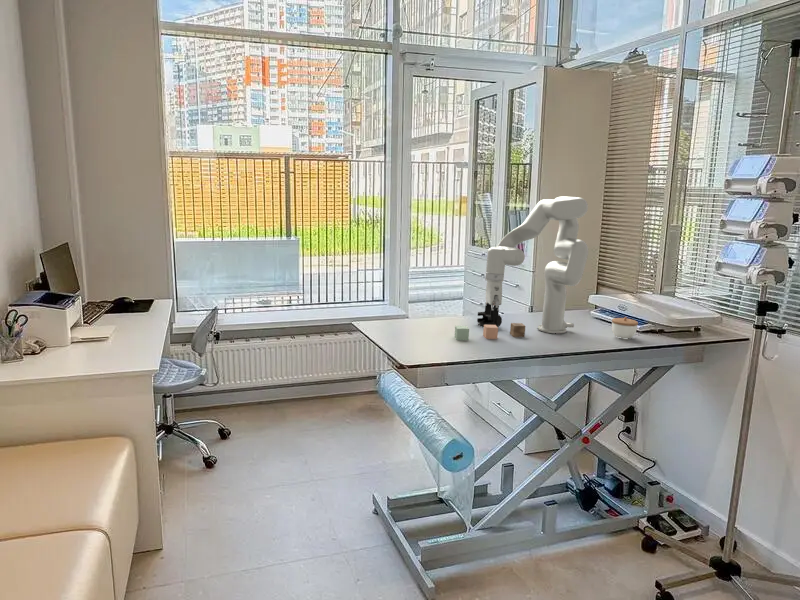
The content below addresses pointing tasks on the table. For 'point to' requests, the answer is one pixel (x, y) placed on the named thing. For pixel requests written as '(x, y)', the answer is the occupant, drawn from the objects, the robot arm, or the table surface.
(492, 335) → the terracotta block
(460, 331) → the sage block
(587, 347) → the table surface
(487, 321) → the black claw piece
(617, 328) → the lidded jar
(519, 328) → the walnut block
